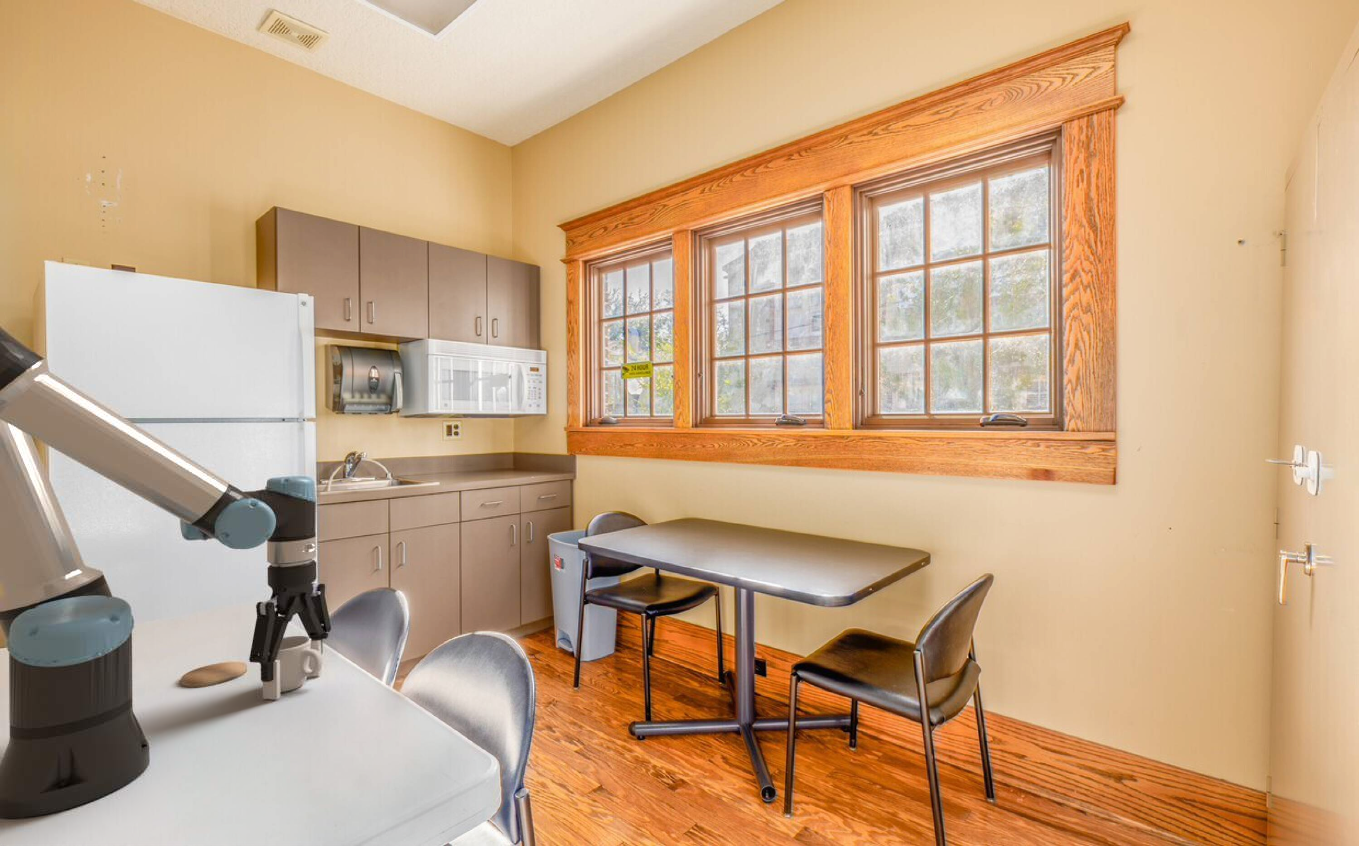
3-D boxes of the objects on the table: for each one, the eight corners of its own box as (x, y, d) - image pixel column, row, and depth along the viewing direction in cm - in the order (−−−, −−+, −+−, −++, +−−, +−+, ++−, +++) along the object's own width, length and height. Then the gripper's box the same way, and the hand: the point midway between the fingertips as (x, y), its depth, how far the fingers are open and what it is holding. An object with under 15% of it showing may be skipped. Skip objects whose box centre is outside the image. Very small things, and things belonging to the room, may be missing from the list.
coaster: (214, 688, 111) (214, 683, 111) (166, 685, 113) (166, 681, 113) (259, 666, 121) (259, 662, 121) (214, 664, 123) (214, 660, 123)
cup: (335, 679, 115) (335, 636, 115) (305, 698, 107) (305, 651, 107) (281, 677, 116) (281, 635, 116) (247, 696, 108) (247, 650, 108)
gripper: (261, 577, 100) (263, 715, 100) (351, 550, 122) (352, 663, 122) (220, 576, 101) (222, 713, 101) (317, 549, 123) (318, 662, 123)
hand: (293, 685), depth 112 cm, fingers open, 9 cm apart
